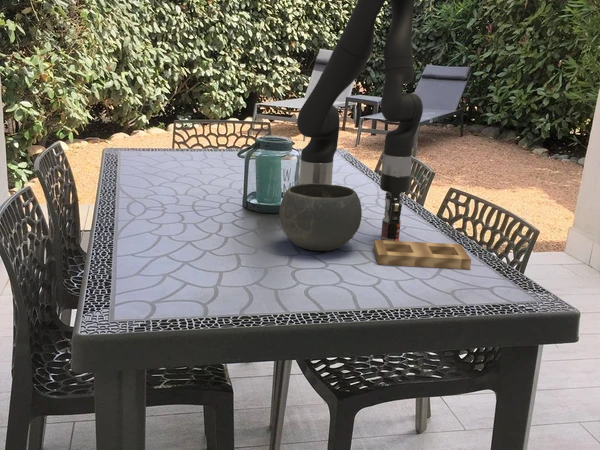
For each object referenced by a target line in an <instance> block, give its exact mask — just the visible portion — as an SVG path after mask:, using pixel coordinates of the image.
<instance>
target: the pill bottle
mask: <svg viewBox="0 0 600 450" xmlns="http://www.w3.org/2000/svg"><path fill="white" fill-rule="evenodd" d="M390 212H391V211H390ZM383 215H384V216H383V217H382V221H381V234H380V240H389V241H400V231H401V224H402V221H401V219H400V223H399V225H397V232H396V238H395V239H388V237H387V234H388V216H387V210H385V209H384V213H383ZM392 220H396V217H392Z"/></svg>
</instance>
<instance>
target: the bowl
mask: <svg viewBox="0 0 600 450" xmlns="http://www.w3.org/2000/svg"><path fill="white" fill-rule="evenodd" d="M299 184H300V183H299ZM299 184H295V185H292V186H289V188H288V189H286V191H285V193H283V196H282V198H281V202H280V205H279V211H278V212H279V213H278V214H279V221H280V225H281V227H282V230H283V232H284V234H286V236H287V237H288V238H289V239H288V240H290V241H291V242H292V243H293V244H295V245H296V246H298V247H299V248H302V249H305V250H308V251H315V252H328V251H329V252H330V251H333V250H336V249H339V248H341V247H343V246H344V245H346V244H347V243H348V242H349V241H351V239H353V237H355V235H356V233H357V232H358V229H359V228H360V226H361V221H362V215H363V213H362V212H363V211H362V205H361V200H360V197H359V195H358V194H357V192H356V191H355V190H354V189H353V188H350V187H348V186H343V185H339V184H332V185H330V184H317V183H309V184H300V185H299Z"/></svg>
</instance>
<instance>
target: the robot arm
mask: <svg viewBox="0 0 600 450" xmlns="http://www.w3.org/2000/svg"><path fill="white" fill-rule="evenodd" d="M386 1H387V0H357V1H356V4H355V6H354V8H353V10H352V13H351V14H350V17H349V19H348V20H347V24H346V25H345V27H344V29H343V32H342V33H341V35H340V37H339V38H338V40H337V42H336V44H335V46H334V48H333V51H332V53H331V55H330V56H329V59H328V61H327V63H326V65H325V67H324V68H323V71H322V73H321V75H320V77H319V79H318V80H317V82H316V84H315V86H314V88H313V89H312V91H311V92H310V94H309V96H307V98H306V100H305V101H304V102H303V103H304V104H303V105H302V106H301V108H300V110H299V112H298V115H297V118H296V119H297V121H296V122H297V123H296V125H297V129H298V131H299V133H300V134H301V136H303V137H305V138H310V140H309V142H308V144H307V145H305V147H303V148H302V149H301V152H300V153H301V154H300V167H299V168H300V169H299V173H300V174H299V184H298V185H300V184H309V183H317V184H330V185H333V184H332V183H333V167H334V156H335V154H336V152H337V150H338V149H337V148H338V141H339V136H340V135H339V134H340V114H339V111H338V109H337V108H336V106H335V105H334V104H335V102H336V100H337V99H338V98H339V96H340V95H341V94H342V93H343V92H345V90H346V89H347V88H349V86H350V85H351V84H352V83H353V82H354V81H355V80H356V79H357V78H358V77H359V75H361V73H362V71H363V70H364V68H365V66H366V65H367V62H368V61H369V59H370V57H371V55H372V53H373V50H374V42H375V27H376V26H375V25H376V20H377V17H378V16H379V14H380V13H381V9H382V7H383V6H384V4H385V3H386ZM389 1H390V8H391V22H390V28H389V32H388V35H387V38H386V40H385V44H384V52H383V60H384V73H385V80H384V84H383V91H382V96H381V99H380V100H381V101H380V111H381V114H382V116H383V118H384V119H385V120H386V121H387V122H390V123H399V124H398V126H397V127H396V128H395V129H393V130H390V131H388V132H387V133H386V134H385V138H384V139H385V140H384V148H383V157H382V163H381V172H380V173H381V174H380V182H379V183H380V184H379V185H380V186H379V188H380V190H382V191H384V192H385V198H384V200H385V203H384V211H385V210H387V216H388V234H387V237H388V239H395V238H396V232H397V225H399V223H400V220H401V214H402V212H401V211H402V207H403V198H402V197H401V194H402V193H407V192H408V193H409V191H410V185H411V177H412V165H413V164H412V162H413V161H412V154H413V146H414V143H413V142H414V139H415V136H416V133H417V131H418V128H419V125H420V123H421V120H422V116H423V112H424V106H423V101H422V98H420V96H419V95H418V94H416V93H410V92H409V93H402V88H403V85H406V84H410V83H412V82H413V80H414V78H415V77H414V76H415V75H414V74H415V73H414V71H415V70H414V56H413V23H414V21H413V20H414V12H415V11H414V9H415V8H414V7H415V0H389ZM390 211H391V212H390ZM392 217H396V220H392Z"/></svg>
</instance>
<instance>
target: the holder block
mask: <svg viewBox="0 0 600 450" xmlns="http://www.w3.org/2000/svg"><path fill="white" fill-rule="evenodd" d="M372 246H373V247H372V249H373V252H374V257H375V260H376V263H377V265H379V266H383V265H384V266H397V267H398V266H399V267H402V266H403V267H416V268H417V267H419V268H437V269H454V270H471V264H472V258H471V257H470V255H469V254H468V253H467V252H466V250H465V249H464V247H463V245H462V244H460V243H442V242H441V243H440V242H424V241H405V240H399V241H389V240H381V239H373V245H372Z"/></svg>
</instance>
